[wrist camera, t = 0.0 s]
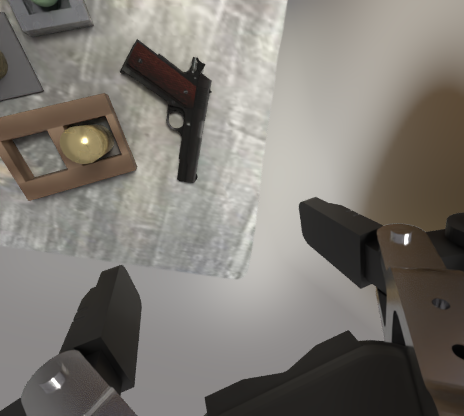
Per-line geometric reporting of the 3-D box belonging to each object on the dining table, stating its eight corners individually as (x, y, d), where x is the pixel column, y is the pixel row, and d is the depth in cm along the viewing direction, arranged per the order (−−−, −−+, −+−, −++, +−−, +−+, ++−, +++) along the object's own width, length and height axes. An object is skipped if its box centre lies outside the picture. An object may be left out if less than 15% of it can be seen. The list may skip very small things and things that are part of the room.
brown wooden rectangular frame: (-8, 121, 30) (-22, 122, 27) (108, 94, 32) (104, 93, 30) (37, 195, 34) (28, 201, 31) (137, 166, 36) (135, 170, 34)
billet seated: (76, 128, 32) (52, 131, 25) (106, 121, 33) (91, 122, 26) (89, 157, 34) (71, 168, 27) (118, 149, 35) (107, 158, 27)
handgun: (114, 172, 34) (197, 184, 38) (120, 33, 29) (217, 61, 32) (117, 169, 37) (195, 180, 40) (124, 38, 31) (215, 64, 34)
